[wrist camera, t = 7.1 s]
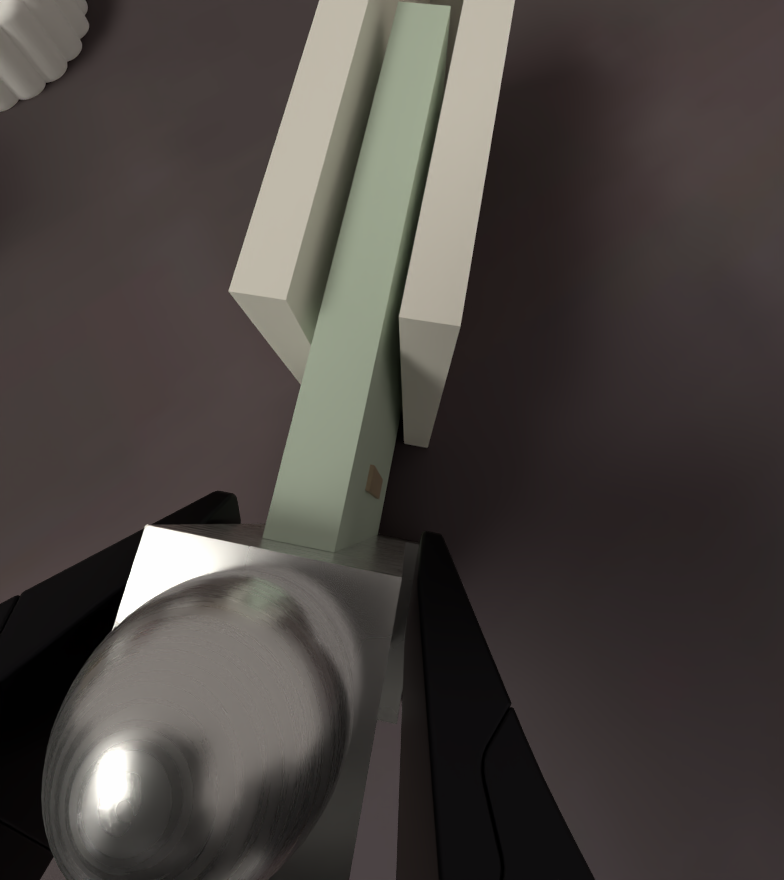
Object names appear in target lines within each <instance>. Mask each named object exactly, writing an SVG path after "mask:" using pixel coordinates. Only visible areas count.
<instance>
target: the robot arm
mask: <svg viewBox="0 0 784 880" xmlns="http://www.w3.org/2000/svg"><path fill="white" fill-rule="evenodd" d="M240 523H241V519H240V513H239V507H238V501H237V497H236V496H235V494H233V493H228V492H223V491H215V492H212V493H210V494H209V495H207V496H205V497H203V498H201V499H199V500H197V501H195V502H193V503H191V504H190V505H188V506H186V507H184V508H182V509H180V510H178V511H176V512H174V513H172V514H170V515H169V516H167V517H165V518H163V519H161V520H159V521H157V522H155V523H153V524H151V525H174V524H240ZM144 529H145V528H144ZM144 529H142V530H140V531H138V532H136V533H134V534H132V535H131V536H129V537H127V538H125V539H123V540H121V541H119V542H117V543H115V544H113V545H112V546H110V547H108V548H106V549H104V550H102V551H100V552H98V553H96V554H94V555H92V556H91V557H89V558H87V559H85V560H83V561H81V562H79V563H77V564H75V565H73V566H72V567H70V568H68V569H66V570H64V571H62V572H60V573H58V574H56V575H54V576H53V577H51V578H49V579H47V580H45V581H43V582H41V583H39V584H37V585H35V586H34V587H32V588H30V589H28V590H26V591H24V592H23V593H22V594H21V595H20V596H19V595H17V596H14V597H12V598H10V599H9V600H7V601H5V602H3V603H1V604H0V880H40V879H41V877H42V875H43V874H44V872H45V870H46V869H47V867H48V865H49V864H50V862H51V860H52V859H53V857H54V856H53V854H52V852H51V849H50V846H49V843H48V839H47V836H46V833H45V827H44V821H43V815H42V800H41V792H42V776H43V769H44V763H45V757H46V751H47V746H48V742H49V738H50V735H51V731H52V728H53V725H54V723H55V720H56V717H57V715H58V712H59V710H60V708H61V705H62V703H63V701H64V699H65V697H66V695H67V693H68V691H69V689H70V687H71V685H72V683H73V681H74V679H75V678H76V676H77V675H78V673H79V672H80V670H81V669H82V667H83V666H84V664H85V663H86V661H87V660H88V658H89V657H90V656H91V654H92V653H93V652H94V650H95V649H96V648H97V647H98V646H99V644H100V643H101V642H102V641H103V640H104V638H105V637H106V636H107V635H108V634H109V633H110V632H111V631H112V630H113V626H114V623H115V620H116V617H117V614H118V611H119V608H120V604H121V601H122V598H123V595H124V592H125V589H126V585H127V582H128V579H129V576H130V573H131V570H132V567H133V563H134V560H135V557H136V554H137V551H138V548H139V544H140V541H141V538H142V535H143V532H144ZM510 706H511V701H510V698H509V696H508V694H507V691H506V689H505V686H504V684H503V681H502V679H501V677H500V674H499V672H498V669H497V667H496V664H495V662H494V660H493V657H492V655H491V652H490V650H489V647H488V645H487V643H486V640H485V638H484V635H483V633H482V630H481V628H480V626H479V623H478V621H477V618H476V616H475V613H474V611H473V609H472V606H471V604H470V601H469V599H468V596H467V594H466V592H465V589H464V587H463V584H462V582H461V579H460V577H459V575H458V572H457V570H456V567H455V565H454V562H453V560H452V558H451V555H450V553H449V550H448V548H447V545H446V543H445V541H444V538H443V536H442V535H441V534H439V533H434V532H429V531H423V532H422V534H421V539H420V544H419V548H418V553H417V558H416V564H415V570H414V577H413V583H412V590H411V597H410V603H409V610H408V616H407V623H406V631H405V642H404V666H403V695H402V724H401V753H400V782H399V811H398V840H397V869H396V880H595V879H594V877H593V875H592V873H591V871H590V869H589V867H588V865H587V863H586V861H585V859H584V857H583V855H582V853H581V851H580V849H579V848H578V846H577V844H576V842H575V840H574V838H573V836H572V834H571V832H570V830H569V828H568V826H567V824H566V822H565V820H564V818H563V816H562V814H561V812H560V810H559V808H558V806H557V804H556V802H555V800H554V798H553V796H552V794H551V792H550V790H549V788H548V786H547V784H546V781H545V779H544V777H543V775H542V773H541V771H540V768H539V766H538V764H537V762H536V759H535V757H534V755H533V752H532V750H531V748H530V746H529V743H528V741H527V739H526V737H525V734H524V732H523V729H522V727H521V725H520V722H519V720H518V717H517V715H516V712H515V710H514V708H512V707H510Z"/></svg>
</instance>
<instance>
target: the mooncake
mask: <svg viewBox="0 0 784 880" xmlns="http://www.w3.org/2000/svg"><path fill="white" fill-rule="evenodd" d="M87 10H88V5H87V2H86V0H0V112H2V111H6V110H8V109H10V108H12V107H13V106H14V105H15V104H16V103H17V102H18V100H19V99H20V100H26V99H31V98H33V97H35V96H37V95H39V94H40V93H41V92H42V91H43V89H44V88H45V85H46V83H48V82H52V81H55V80H57V79H59V78H60V77H61V76H62V75H63V74H64V73H65V72H66V70H67V62H68V61H71V60H73V59H74V58H76V57H77V56H78V55H79V53H80V52H81V50H82V42H81V40H80V39H81V38H82V37H84V36H85V35H86V33H87V32H88V30H89V23H88V20H87V19H86V17H85V14H86V13H87Z"/></svg>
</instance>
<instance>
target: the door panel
mask: <svg viewBox="0 0 784 880" xmlns="http://www.w3.org/2000/svg"><path fill="white" fill-rule="evenodd" d="M450 10H451V6H445V5H433V4H421V3H409V2H398V5H397V9H396V12H395V16H394V20H393V24H392V28H391V32H390V36H389V40H388V44H387V48H386V52H385V56H384V60H383V64H382V68H381V72H380V76H379V80H378V83H377V87H376V91H375V95H374V99H373V103H372V107H371V111H370V115H369V119H368V123H367V127H366V131H365V135H364V139H363V143H362V147H361V151H360V154H359V158H358V162H357V166H356V170H355V174H354V178H353V182H352V186H351V190H350V194H349V198H348V202H347V206H346V210H345V214H344V218H343V222H342V226H341V229H340V233H339V237H338V241H337V245H336V249H335V253H334V257H333V261H332V265H331V269H330V273H329V277H328V281H327V285H326V289H325V293H324V297H323V300H322V304H321V308H320V312H319V316H318V320H317V324H316V328H315V332H314V336H313V340H312V344H311V348H310V352H309V356H308V360H307V364H306V368H305V371H304V375H303V379H302V383H301V387H300V391H299V395H298V399H297V403H296V407H295V411H294V415H293V419H292V423H291V427H290V431H289V435H288V439H287V442H286V446H285V450H284V454H283V458H282V462H281V466H280V470H279V474H278V478H277V482H276V486H275V490H274V494H273V498H272V502H271V506H270V510H269V514H268V517H267V521H266V525H265V529H264V533H263V537H262V538H265V539H270V540H275V541H280V542H284V543H289V544H294V545H299V546H304V547H309V548H314V549H319V550H324V551H329V552H333V553H334V552H337V551H339V550H342V549H344V548H347V547H349V546H351V545H354V544H356V543H359V542H361V541H364V540H366V539H368V538H371V537H373V536H376V535H378V530H379V525H380V520H381V515H382V510H383V504H384V499H385V494H386V489H387V484H388V478H389V473H390V468H391V463H392V458H393V452H394V447H395V442H396V437H397V432H398V427H399V421H400V416H401V411H402V406H403V405H402V381H401V358H400V334H399V314H400V309H401V304H402V299H403V294H404V289H405V284H406V279H407V275H408V270H409V265H410V260H411V255H412V250H413V245H414V240H415V236H416V231H417V226H418V221H419V216H420V211H421V206H422V201H423V196H424V192H425V187H426V182H427V177H428V172H429V167H430V162H431V157H432V153H433V148H434V143H435V138H436V133H437V128H438V123H439V118H440V114H441V109H442V104H443V93H444V81H445V69H446V58H447V46H448V34H449V22H450Z"/></svg>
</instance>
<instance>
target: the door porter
mask: <svg viewBox="0 0 784 880" xmlns="http://www.w3.org/2000/svg"><path fill="white" fill-rule="evenodd" d="M265 525H266V524H174V525H146V526H145V529H144V532H143V535H142V538H141V541H140V544H139V548H138V551H137V554H136V557H135V560H134V563H133V567H132V570H131V573H130V576H129V579H128V582H127V585H126V589H125V592H124V595H123V598H122V601H121V604H120V608H119V611H118V614H117V617H116V620H115V623H114V626H113V630H112V631H111V632H110V633H109V634H108V635H107V636H106V637H105V638H104V640H103V641H102V642H101V643H100V644H99V646H98V647H97V648H96V649H95V650H94V652H93V653H92V654H91V656H90V657H89V658H88V660H87V661H86V663H85V664H84V666H83V667H82V669H81V670H80V672H79V673H78V675H77V676H76V678H75V679H74V681H73V683H72V685H71V687H70V689H69V691H68V693H67V695H66V697H65V699H64V701H63V703H62V705H61V708H60V710H59V712H58V715H57V717H56V720H55V723H54V725H53V728H52V731H51V735H50V738H49V742H48V746H47V751H46V757H45V763H44V769H43V776H42V792H41V800H42V815H43V821H44V827H45V833H46V836H47V839H48V843H49V846H50V849H51V852H52V854H53V856H54V858H55V861H56V863H57V865H58V867H59V869H60V870H61V872H62V873H63V875H64V877H65V878H66V880H349V876H350V871H351V865H352V859H353V854H354V848H355V842H356V836H357V831H358V825H359V819H360V814H361V808H362V802H363V797H364V791H365V785H366V779H367V774H368V768H369V762H370V757H371V751H372V745H373V740H374V734H375V728H376V722H377V720H381V721H385V722H389V723H393V724H397V719H398V712H399V706H400V700H401V694H402V688H403V666H404V642H405V631H406V623H407V616H408V610H409V603H410V597H411V590H412V583H413V577H414V570H415V564H416V558H417V553H418V548H419V544H420V543H419V542H414V541H409V540H404V539H399V538H394V537H389V536H384V535H379V534H378V535H376V536H373V537H371V538H368V539H366V540H364V541H361V542H359V543H356V544H354V545H351V546H349V547H347V548H344V549H342V550H339V551H337V552H334V553H333V552H329V551H324V550H319V549H314V548H309V547H304V546H299V545H294V544H289V543H284V542H280V541H275V540H270V539H265V538H262V537H263V533H264V529H265Z"/></svg>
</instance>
